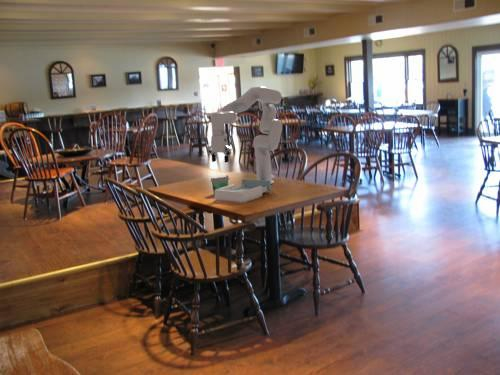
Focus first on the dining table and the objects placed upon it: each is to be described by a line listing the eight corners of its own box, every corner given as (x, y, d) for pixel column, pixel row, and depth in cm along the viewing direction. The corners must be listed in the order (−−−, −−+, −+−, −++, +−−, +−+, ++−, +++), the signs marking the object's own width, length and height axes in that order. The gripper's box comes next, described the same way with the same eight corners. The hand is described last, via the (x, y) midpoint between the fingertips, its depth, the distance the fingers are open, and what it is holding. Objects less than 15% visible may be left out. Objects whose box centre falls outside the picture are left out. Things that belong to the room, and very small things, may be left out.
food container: (217, 195, 307) (215, 179, 305) (211, 194, 312) (210, 178, 310) (234, 192, 314) (233, 176, 312) (228, 190, 319) (227, 175, 317)
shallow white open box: (234, 193, 309) (234, 183, 308) (262, 196, 298) (261, 186, 297) (215, 200, 294) (214, 190, 293) (243, 203, 283) (243, 192, 282)
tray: (243, 188, 316) (242, 179, 315) (270, 190, 305) (270, 180, 303) (225, 194, 302) (224, 184, 301) (253, 197, 290) (252, 186, 289)
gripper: (233, 132, 303) (235, 161, 307) (211, 132, 313) (213, 160, 317) (226, 134, 297) (228, 163, 301) (203, 133, 307) (205, 162, 311)
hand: (220, 161), depth 309 cm, fingers open, 9 cm apart
